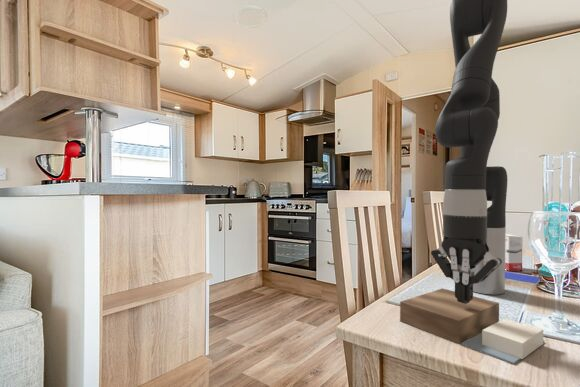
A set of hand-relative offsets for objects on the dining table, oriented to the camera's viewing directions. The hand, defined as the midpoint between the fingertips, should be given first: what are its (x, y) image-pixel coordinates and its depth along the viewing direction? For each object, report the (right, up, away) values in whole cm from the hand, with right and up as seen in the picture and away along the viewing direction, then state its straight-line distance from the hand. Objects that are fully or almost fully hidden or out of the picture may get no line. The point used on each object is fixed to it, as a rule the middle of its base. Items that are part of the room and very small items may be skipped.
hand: (463, 301), depth 64 cm
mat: (+4, -5, -6) cm, 9 cm away
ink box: (+42, -5, +50) cm, 65 cm away
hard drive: (+35, -6, +37) cm, 51 cm away
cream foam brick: (+5, -3, -7) cm, 9 cm away
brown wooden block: (-1, -5, +3) cm, 6 cm away
